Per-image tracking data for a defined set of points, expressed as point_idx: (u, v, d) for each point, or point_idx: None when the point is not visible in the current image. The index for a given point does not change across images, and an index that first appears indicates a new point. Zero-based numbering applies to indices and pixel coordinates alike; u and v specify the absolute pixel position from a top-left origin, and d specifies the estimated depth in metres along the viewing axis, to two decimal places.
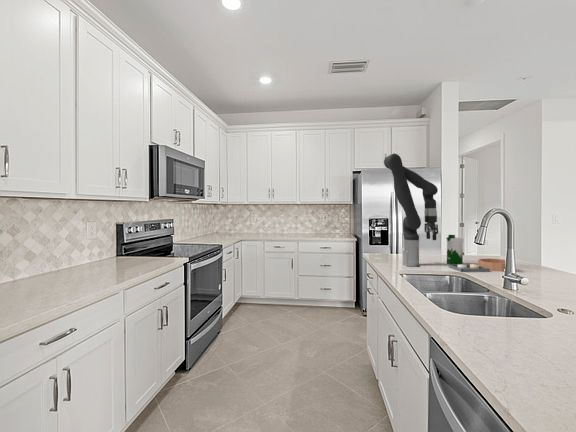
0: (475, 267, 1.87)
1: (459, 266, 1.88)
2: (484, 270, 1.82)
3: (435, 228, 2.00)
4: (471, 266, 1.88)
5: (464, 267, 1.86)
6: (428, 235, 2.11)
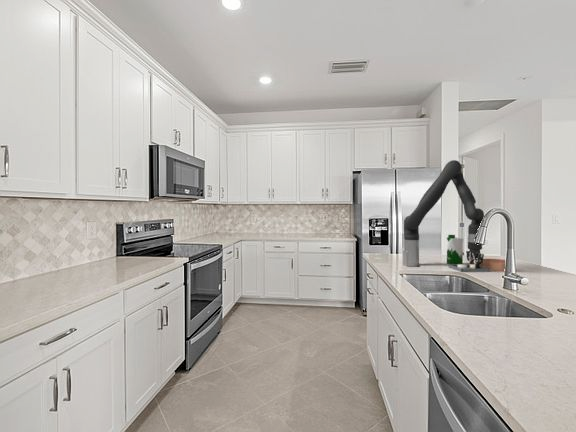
0: None
1: (459, 266, 1.88)
2: (484, 270, 1.82)
3: (480, 258, 1.83)
4: (471, 266, 1.88)
5: (464, 267, 1.86)
6: None
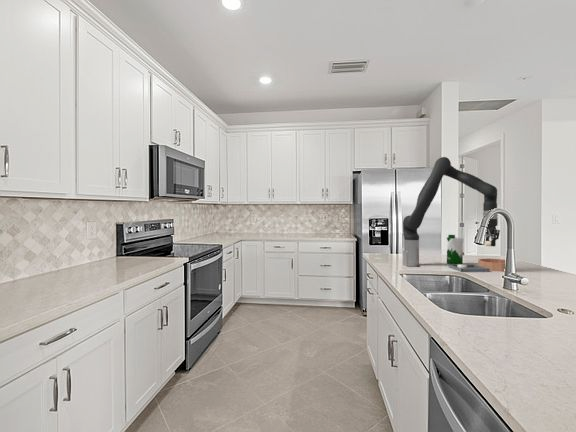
0: None
1: (459, 266, 1.88)
2: (484, 270, 1.82)
3: (496, 234, 1.84)
4: (487, 242, 1.90)
5: (464, 267, 1.86)
6: None
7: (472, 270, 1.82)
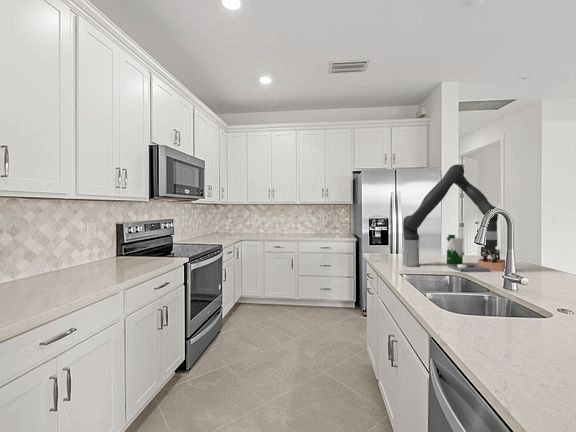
0: None
1: (459, 266, 1.88)
2: (484, 270, 1.82)
3: (496, 253, 1.84)
4: None
5: (464, 267, 1.86)
6: (485, 260, 1.95)
7: (472, 270, 1.82)
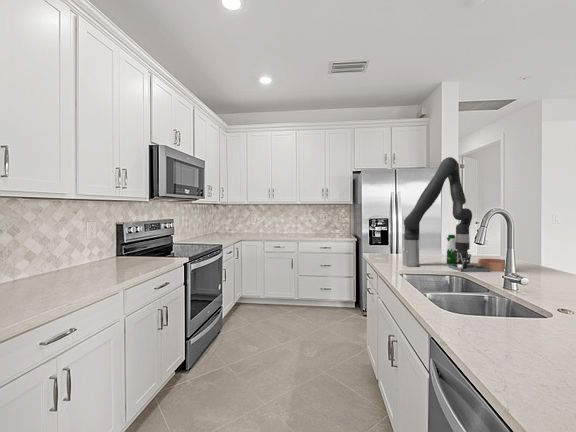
0: None
1: (459, 266, 1.88)
2: (484, 270, 1.82)
3: (467, 258, 1.82)
4: None
5: None
6: None
7: (472, 270, 1.82)
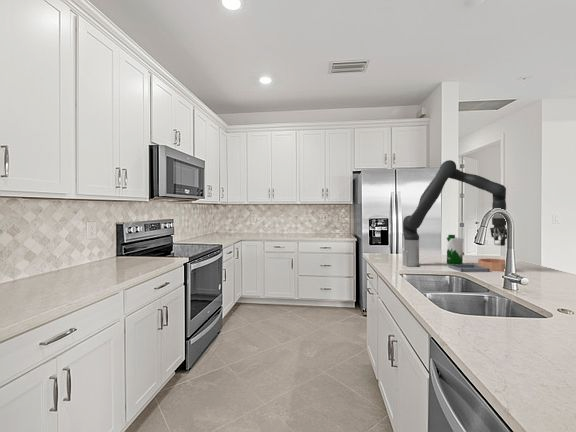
0: None
1: (497, 242, 1.89)
2: (484, 270, 1.82)
3: (506, 233, 1.84)
4: None
5: None
6: None
7: (472, 270, 1.82)
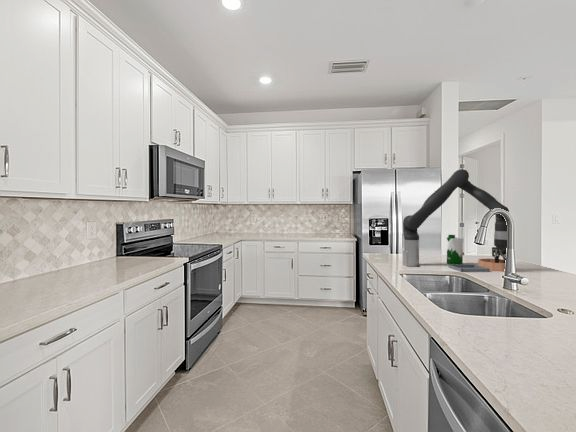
0: None
1: None
2: (484, 270, 1.82)
3: None
4: None
5: None
6: (497, 260, 1.95)
7: (472, 270, 1.82)
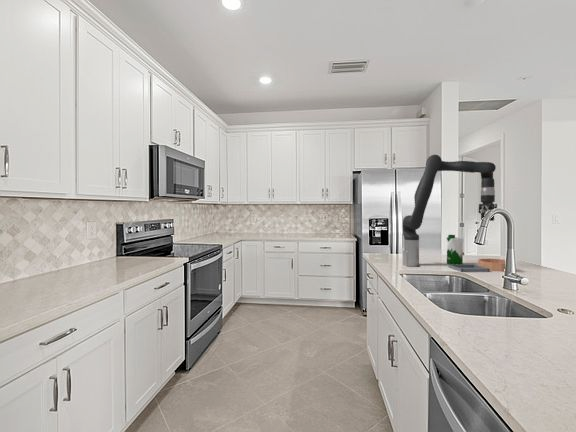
0: None
1: None
2: (484, 270, 1.82)
3: None
4: None
5: None
6: (483, 216, 2.01)
7: (472, 270, 1.82)
